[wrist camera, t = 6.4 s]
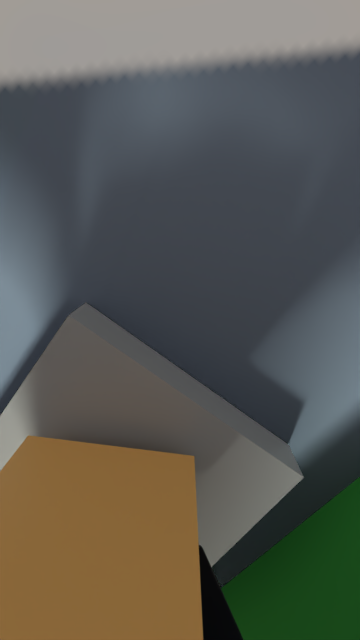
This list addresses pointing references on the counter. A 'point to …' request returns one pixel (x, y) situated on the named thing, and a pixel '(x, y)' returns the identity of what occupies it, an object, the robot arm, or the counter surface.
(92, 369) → the plate
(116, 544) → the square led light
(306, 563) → the pipe clamp
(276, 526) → the counter surface
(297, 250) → the counter surface
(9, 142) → the counter surface
